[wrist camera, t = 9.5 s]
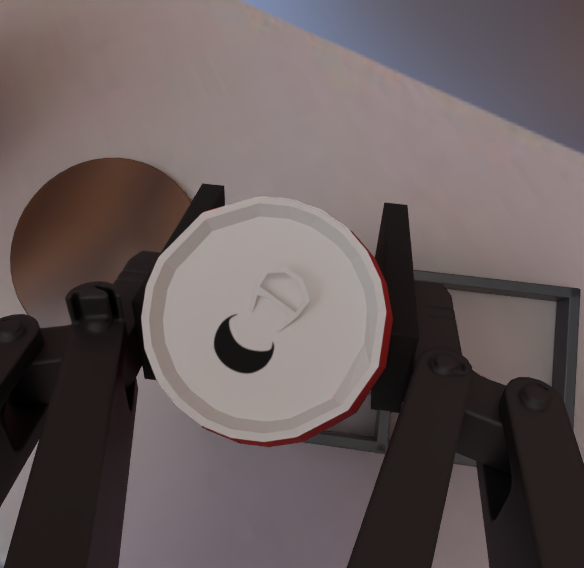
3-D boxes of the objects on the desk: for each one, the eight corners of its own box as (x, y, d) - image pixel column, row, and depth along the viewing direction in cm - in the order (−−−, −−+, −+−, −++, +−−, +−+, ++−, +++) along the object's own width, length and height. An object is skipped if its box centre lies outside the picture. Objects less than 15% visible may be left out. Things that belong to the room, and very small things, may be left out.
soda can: (281, 248, 23) (235, 125, 11) (386, 324, 22) (462, 281, 10) (202, 353, 22) (64, 345, 10) (308, 434, 21) (289, 525, 10)
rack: (207, 424, 31) (201, 428, 29) (232, 254, 32) (228, 248, 30) (558, 474, 29) (571, 480, 27) (567, 292, 30) (581, 288, 29)
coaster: (-20, 295, 33) (-27, 294, 32) (76, 131, 34) (72, 126, 33) (144, 386, 31) (140, 386, 31) (239, 210, 32) (237, 207, 32)
